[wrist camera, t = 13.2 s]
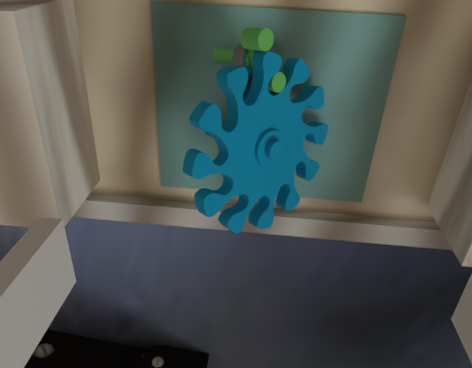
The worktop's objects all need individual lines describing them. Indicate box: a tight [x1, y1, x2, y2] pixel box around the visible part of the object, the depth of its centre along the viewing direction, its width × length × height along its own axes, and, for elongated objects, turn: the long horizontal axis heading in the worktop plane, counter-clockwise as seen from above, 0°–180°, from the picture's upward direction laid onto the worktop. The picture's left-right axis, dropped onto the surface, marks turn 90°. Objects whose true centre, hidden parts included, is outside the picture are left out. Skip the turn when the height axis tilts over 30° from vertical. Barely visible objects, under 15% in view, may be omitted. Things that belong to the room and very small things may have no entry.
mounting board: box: [0, 0, 472, 267], centre depth 24 cm, size 32×16×7 cm, turn 88°
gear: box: [183, 27, 328, 234], centre depth 23 cm, size 11×6×10 cm
